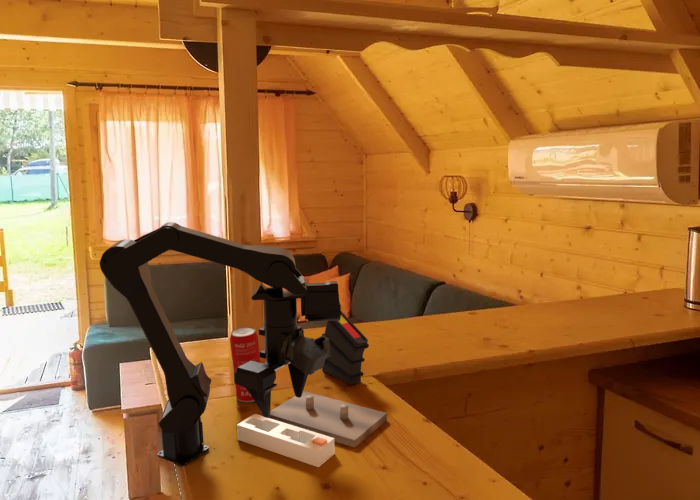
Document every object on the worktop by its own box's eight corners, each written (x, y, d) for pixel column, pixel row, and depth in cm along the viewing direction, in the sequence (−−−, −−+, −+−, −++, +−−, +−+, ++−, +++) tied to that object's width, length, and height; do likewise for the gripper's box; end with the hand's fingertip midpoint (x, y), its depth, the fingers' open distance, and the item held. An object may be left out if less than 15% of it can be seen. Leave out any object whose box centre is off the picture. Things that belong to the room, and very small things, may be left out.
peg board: (354, 447, 109) (354, 427, 108) (267, 420, 119) (266, 401, 119) (386, 420, 119) (386, 401, 118) (303, 397, 129) (302, 379, 129)
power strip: (318, 467, 103) (318, 448, 102) (237, 439, 112) (236, 422, 112) (334, 453, 107) (334, 436, 107) (255, 428, 116) (254, 411, 116)
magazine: (324, 356, 147) (340, 308, 140) (356, 395, 140) (375, 346, 132) (311, 360, 145) (327, 312, 137) (343, 399, 137) (362, 350, 130)
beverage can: (269, 394, 131) (266, 328, 128) (249, 406, 125) (246, 337, 122) (247, 389, 134) (244, 323, 131) (227, 400, 128) (223, 332, 125)
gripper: (284, 347, 93) (287, 441, 96) (348, 315, 109) (349, 397, 112) (229, 335, 99) (233, 424, 102) (298, 306, 114) (300, 384, 118)
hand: (282, 406), depth 108 cm, fingers open, 9 cm apart
